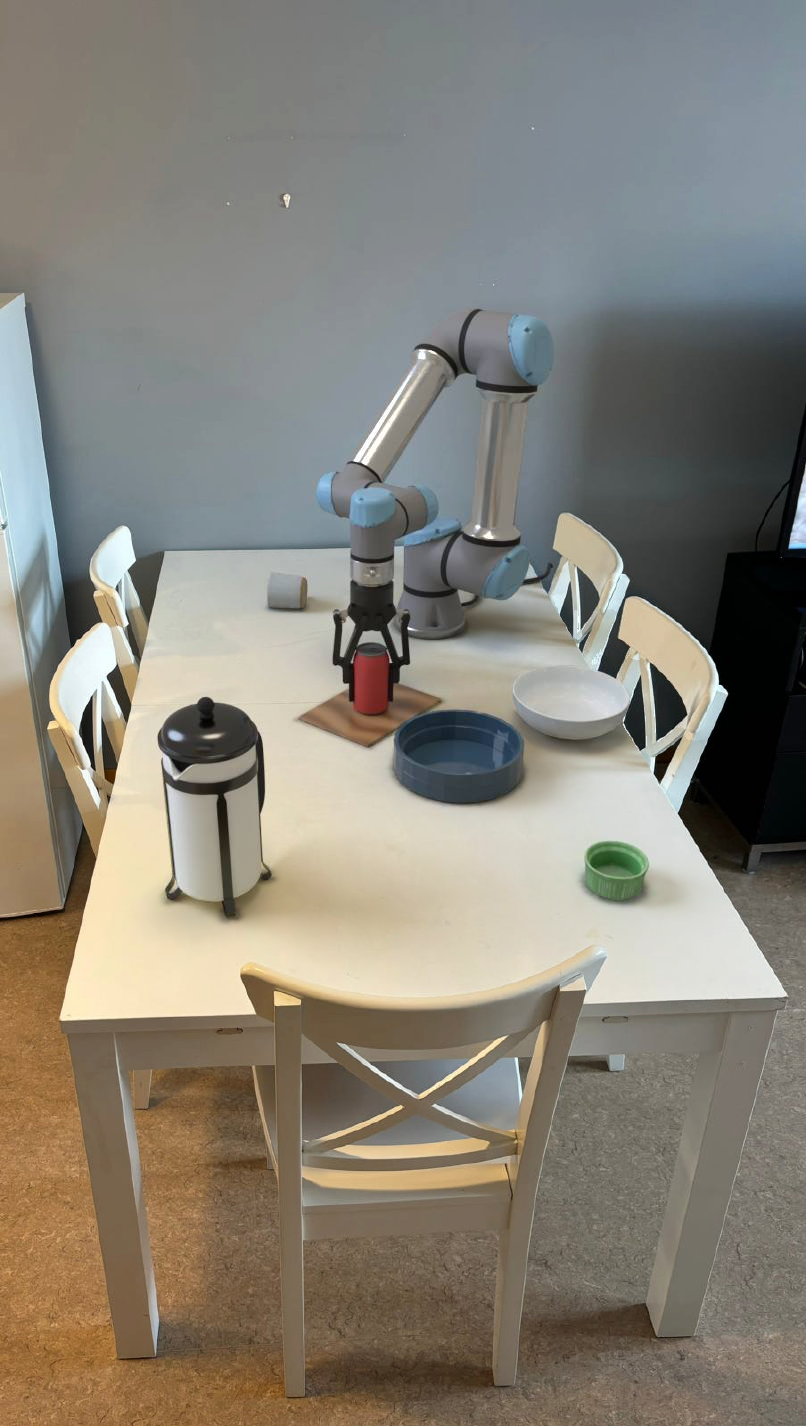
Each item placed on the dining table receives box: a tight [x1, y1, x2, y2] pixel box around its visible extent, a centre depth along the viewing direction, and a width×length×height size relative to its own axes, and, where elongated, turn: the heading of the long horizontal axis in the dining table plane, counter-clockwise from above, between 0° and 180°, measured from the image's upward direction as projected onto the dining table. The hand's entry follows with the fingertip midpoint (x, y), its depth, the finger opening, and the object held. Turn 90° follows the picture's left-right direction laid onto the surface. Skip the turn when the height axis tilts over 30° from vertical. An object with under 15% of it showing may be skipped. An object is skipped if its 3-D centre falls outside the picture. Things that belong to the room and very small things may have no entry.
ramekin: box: [584, 840, 650, 901], centre depth 152 cm, size 9×9×4 cm
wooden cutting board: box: [298, 683, 442, 748], centre depth 197 cm, size 22×16×1 cm
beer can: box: [352, 641, 391, 715], centre depth 194 cm, size 7×7×12 cm
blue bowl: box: [392, 708, 525, 804], centre depth 179 cm, size 21×21×6 cm
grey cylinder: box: [266, 572, 308, 610], centre depth 238 cm, size 11×8×8 cm
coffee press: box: [156, 696, 273, 919], centre depth 145 cm, size 17×16×30 cm
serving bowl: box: [511, 664, 631, 740], centre depth 193 cm, size 21×21×7 cm
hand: (370, 698), depth 196 cm, fingers closed on beer can, 6 cm apart
